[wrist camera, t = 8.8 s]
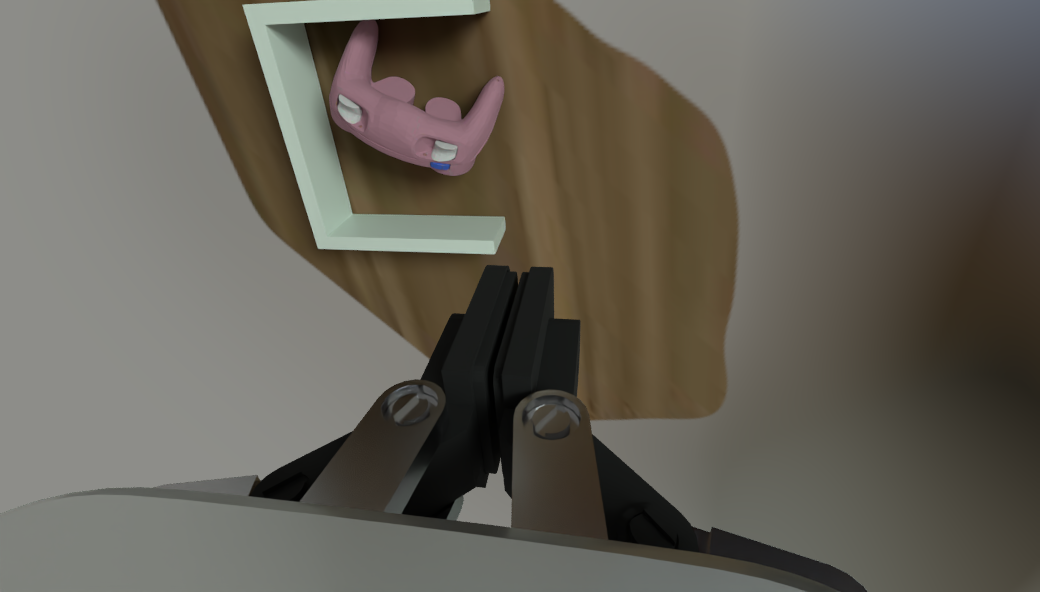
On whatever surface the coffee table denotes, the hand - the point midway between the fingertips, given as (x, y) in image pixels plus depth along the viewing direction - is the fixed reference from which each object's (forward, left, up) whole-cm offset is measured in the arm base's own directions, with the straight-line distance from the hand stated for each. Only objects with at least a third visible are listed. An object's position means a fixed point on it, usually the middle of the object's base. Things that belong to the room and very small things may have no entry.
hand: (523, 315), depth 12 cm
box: (0, -11, -22) cm, 25 cm away
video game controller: (-2, -10, -22) cm, 24 cm away
